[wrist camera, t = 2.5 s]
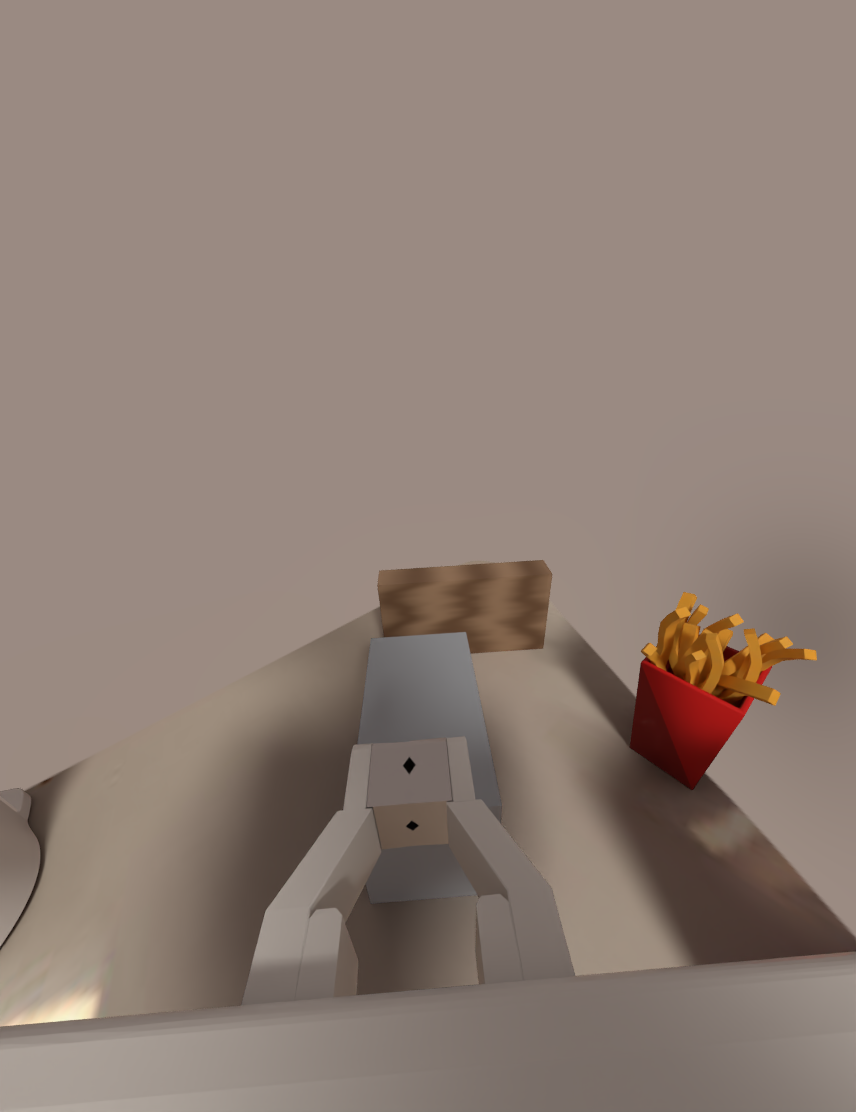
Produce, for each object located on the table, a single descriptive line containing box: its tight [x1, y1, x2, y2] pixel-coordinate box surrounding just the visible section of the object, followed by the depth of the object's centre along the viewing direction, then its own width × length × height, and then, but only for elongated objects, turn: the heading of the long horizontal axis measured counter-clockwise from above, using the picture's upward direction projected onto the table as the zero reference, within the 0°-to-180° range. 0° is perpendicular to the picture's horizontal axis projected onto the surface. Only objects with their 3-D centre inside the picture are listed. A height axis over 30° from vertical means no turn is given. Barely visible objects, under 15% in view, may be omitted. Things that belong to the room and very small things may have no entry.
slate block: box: [357, 632, 502, 904], centre depth 28 cm, size 8×14×10 cm, turn 3°
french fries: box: [630, 592, 817, 790], centre depth 28 cm, size 9×8×15 cm
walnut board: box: [377, 560, 552, 653], centre depth 43 cm, size 18×3×10 cm, turn 93°
